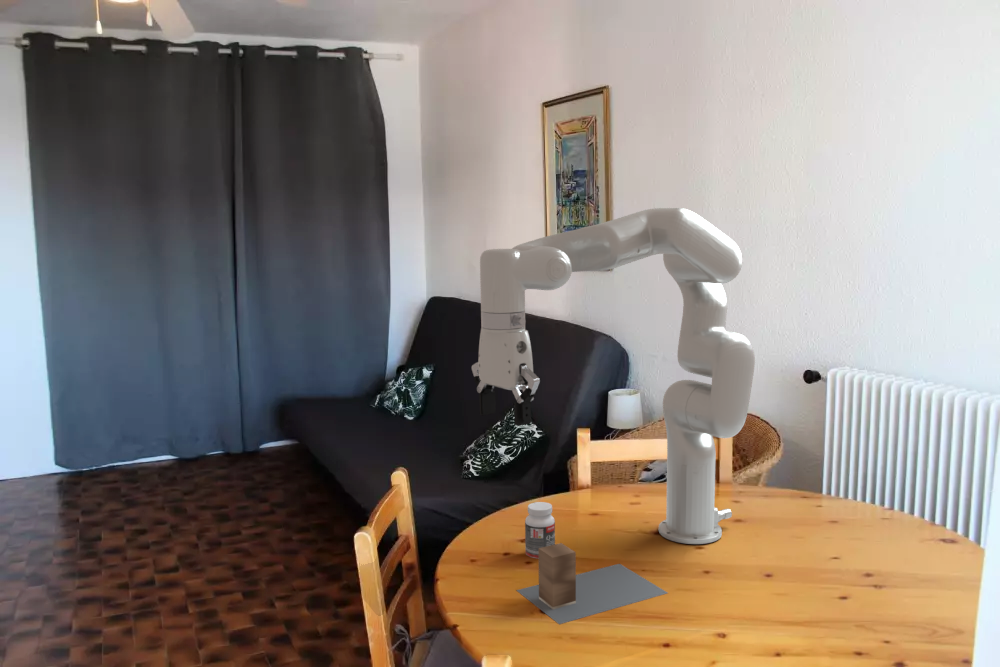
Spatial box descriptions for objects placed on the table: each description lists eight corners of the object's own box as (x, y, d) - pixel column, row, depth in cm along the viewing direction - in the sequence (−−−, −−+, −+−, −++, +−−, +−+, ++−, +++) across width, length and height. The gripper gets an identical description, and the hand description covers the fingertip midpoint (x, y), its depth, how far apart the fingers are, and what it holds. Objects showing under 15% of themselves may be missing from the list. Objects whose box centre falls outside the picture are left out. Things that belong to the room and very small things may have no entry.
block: (561, 592, 145) (561, 542, 144) (575, 603, 141) (575, 552, 140) (539, 598, 143) (538, 548, 142) (552, 609, 139) (552, 557, 138)
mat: (619, 566, 157) (619, 563, 156) (668, 596, 144) (668, 592, 144) (516, 593, 146) (516, 590, 146) (559, 627, 134) (559, 624, 134)
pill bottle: (552, 562, 159) (552, 512, 158) (523, 560, 160) (522, 510, 159) (556, 550, 165) (556, 501, 163) (528, 548, 166) (527, 500, 164)
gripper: (553, 324, 139) (554, 424, 142) (489, 315, 153) (491, 407, 155) (518, 328, 135) (520, 432, 137) (455, 319, 148) (458, 413, 151)
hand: (504, 419), depth 146 cm, fingers open, 9 cm apart
